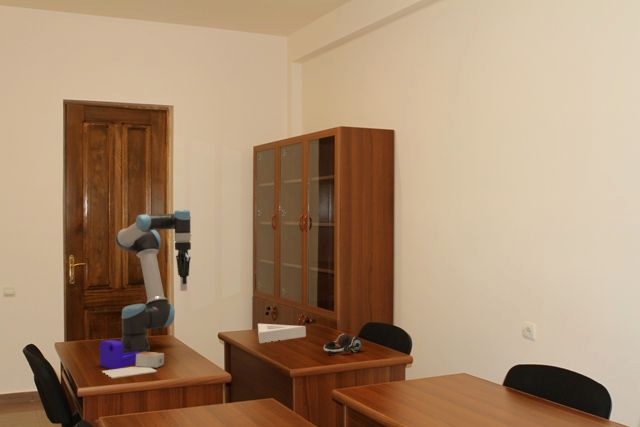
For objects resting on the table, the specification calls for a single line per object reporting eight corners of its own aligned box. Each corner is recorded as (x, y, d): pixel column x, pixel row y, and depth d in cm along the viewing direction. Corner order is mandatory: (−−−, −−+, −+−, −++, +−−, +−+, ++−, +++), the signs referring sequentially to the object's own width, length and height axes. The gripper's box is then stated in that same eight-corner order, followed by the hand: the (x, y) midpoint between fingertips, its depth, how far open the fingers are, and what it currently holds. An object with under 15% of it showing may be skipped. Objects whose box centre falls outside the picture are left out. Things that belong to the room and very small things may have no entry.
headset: (365, 336, 355) (330, 346, 346) (367, 351, 356) (332, 362, 346) (346, 331, 370) (313, 341, 360) (349, 345, 371) (315, 356, 361)
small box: (157, 355, 328) (135, 353, 330) (157, 368, 328) (135, 366, 329) (164, 352, 336) (143, 351, 337) (163, 365, 335) (142, 363, 337)
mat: (101, 372, 323) (101, 370, 323) (145, 366, 333) (145, 364, 333) (111, 378, 310) (111, 377, 310) (157, 372, 321) (157, 370, 321)
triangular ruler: (258, 334, 414) (257, 323, 414) (303, 333, 416) (303, 322, 416) (259, 344, 384) (259, 332, 384) (308, 342, 387) (308, 330, 387)
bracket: (114, 369, 328) (114, 343, 328) (100, 366, 335) (99, 341, 335) (146, 362, 343) (146, 337, 343) (131, 359, 349) (131, 335, 349)
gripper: (195, 241, 347) (196, 291, 347) (184, 241, 358) (185, 288, 358) (180, 242, 343) (181, 292, 343) (170, 241, 354) (171, 289, 354)
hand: (183, 290), depth 351 cm, fingers closed
